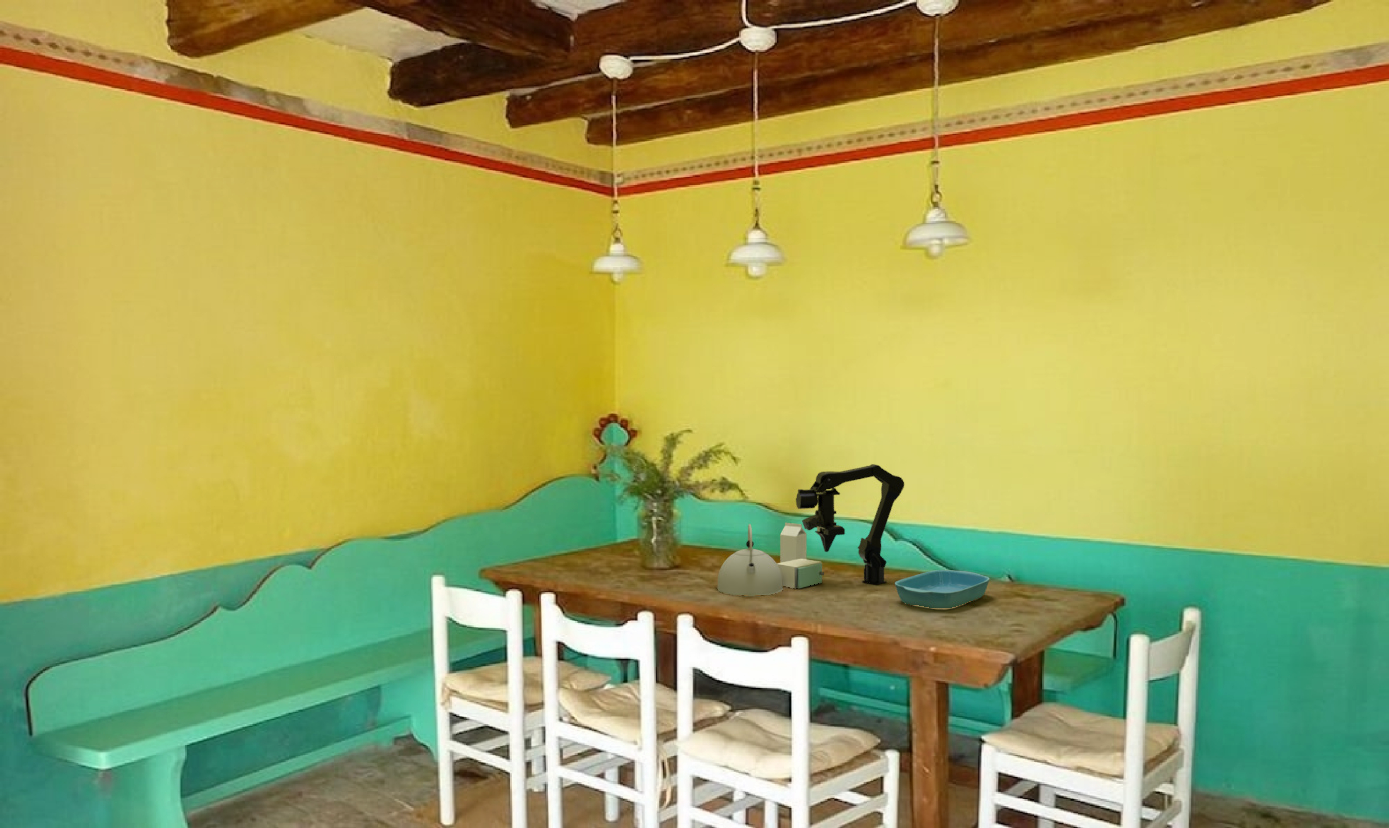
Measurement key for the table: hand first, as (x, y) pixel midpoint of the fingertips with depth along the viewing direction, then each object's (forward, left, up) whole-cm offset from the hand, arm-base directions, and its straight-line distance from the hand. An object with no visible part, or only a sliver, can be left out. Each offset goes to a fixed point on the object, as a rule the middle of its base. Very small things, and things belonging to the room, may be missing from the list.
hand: (826, 551), depth 352 cm
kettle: (+14, +25, -12) cm, 31 cm away
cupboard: (+8, +6, -12) cm, 15 cm away
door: (+2, +6, -11) cm, 13 cm away
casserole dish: (-42, -8, -12) cm, 44 cm away
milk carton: (+20, -6, -12) cm, 24 cm away
